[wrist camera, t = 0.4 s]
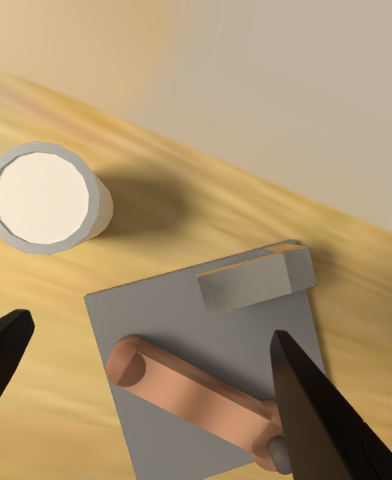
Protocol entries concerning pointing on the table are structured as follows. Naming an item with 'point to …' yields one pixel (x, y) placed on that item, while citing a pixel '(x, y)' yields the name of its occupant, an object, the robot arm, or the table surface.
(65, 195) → the white pedestal piece
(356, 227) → the table surface
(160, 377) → the link
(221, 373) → the board
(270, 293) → the keeper
